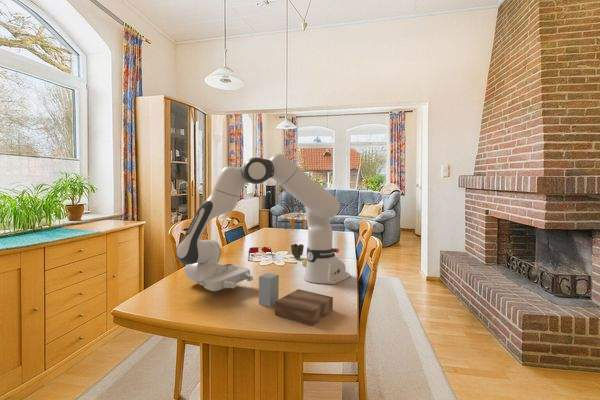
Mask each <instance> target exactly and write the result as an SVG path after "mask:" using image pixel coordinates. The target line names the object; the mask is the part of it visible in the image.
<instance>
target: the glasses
mask: <svg viewBox="0 0 600 400" xmlns="http://www.w3.org/2000/svg"><path fill="white" fill-rule="evenodd" d="M259 250H261V253H264V254H265V253H266V252H271V253H270V254H271V257H272V258H273V259H274V253H273V252H272V248H271V247H269V246H263V247H261V249H260V246H258V247H257V246H256V247H255V246H253V247H249V249H248V260H249V261H250V256H251V255H250V253H254V254H257V253H259V252H260V251H259ZM248 260H247V261H248Z"/></svg>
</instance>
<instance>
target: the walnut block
mask: <svg viewBox="0 0 600 400" xmlns="http://www.w3.org/2000/svg"><path fill="white" fill-rule="evenodd" d="M333 301H334V297H333V296H329V295H325V294H321V293H316V292H311V291H307V290H303V289H300V288H299V289H296V290H294V291H292V292H290V293H288V294H287V295H284V296H283V297H281V298H278V300H277V301H275V305H274V315H275V316H276V317H280V318H282V319H283V318H284V319H285V320H286V319H287V320H290V321H293V322H297V323H300V324H304V325H308V326H310V327H314V325H316V324H317V323H318V322H320V321H321V320H322V319H324V317H326V316H327V315H329V314H330V313H332V311H333V310H334V309H333V305H334V302H333Z"/></svg>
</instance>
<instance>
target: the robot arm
mask: <svg viewBox="0 0 600 400" xmlns="http://www.w3.org/2000/svg"><path fill="white" fill-rule="evenodd" d="M269 179H273V180H274V181H275V182H277V183H278V184H279V185H280V187H282V188H283V189H284V190H285V191H287V193H289V194H290V195H291V196H292V197H293V198H295V199H296V200H297V201H298V202H300V203H301V204H302V205H304V208H305V216H306V217H305V218H306V224H307V247H306V257H307V258H306V259H307V265H306V267H305V273H304V274H303V279H304V281H306V282H310V283H314V284H329V285H335V284H338V283H340V282H342V281H344V280H347V279H349V278H351V274H350V272H347V270H346V264H345V262H343V261H342V260H341V259H340V258H339V257H337V256H336V254H338V253H339V252H340V249H339V248H338V247H337V248H336V247H334V248H333V238H334V237H333V233H334V231H333V228H332V224H331V220H330V219H331V218H334V217H335V216H337V214H338V213H339V212H340V209H341V207H340V206H341V205H340V202H339V200H338V199H337V197H336V196H334V195H333V194H332V193H330V192H329V191H328V190H327V189H325V188H324V187H322V185H320V184H319V183H318V182H316V181H315V180H313V178H311V177H310V176H309V175H308V174H307V173H306V172H304V170H302V169H301V168H300V166H298V165H297V164H296V163H295V162H293V160H291V159H290V158H288V157H287V156H285V155H283V154H281V153H276V154H274V155H272V156H271V157H269V159H266V158H263V157H250V158H248V159H246V160H245V161H244V162H243V163H242V164H241V165H240V166H239V167H236V166H231V165H230V166H229V165H228V166H225V167H223V168H222V170H221V171H220V173H219V175H218V176H217V179H216V182H215V184H214V186H213V190H212V191H211V193H210V195H209V197H208V198H207V199H206V200H205V201H203V202H202V203H201V204H200V205H199V207H198V208H197V210H196V212H195V215H194V216H193V218H192V220H191V222H190V224H189V226H188V228H187V230H186V232H185V234H184V236H183V237H182V239H181V240H180V241H179V243H178V245H177V246H176V249H175V255H176V257H177V259H178V261H179V262H180V263H181V264H183V265H184V275H185V277H186V278H187V279H188V280H190V281H192V282H194V283H196V284H199V286H203V288H204V289H205V290H208V291H210V292H218V291H220V290H223V289H234V288H237V284H239V283H241V282H243V281H245V280H246V281H247V282H251V281H253V280H254V276H253V275H251V270H250V268H247V267H244V266H239V265H236V264H234V263H227V264H219V262H220V261H219V260H220V257H221V246H220V245H219V243H218V242H217V241H216V240H213V239H201V237H202V236H203V234H204V232H205V231H206V228H207V225H208V224H209V222H210V221H211V220H213V219H215V218H217V217H219V216H222V215H227V214H229V213H230V212H232V211H234V209H235V208H236V206H237V205H238V203H239V202H238V201H239V199H240V196H241V193H242V190H243V188H244V186H245V185H247V184H253V185H260V184H263V183H264V182H266V181H267V180H269ZM335 253H336V254H335Z"/></svg>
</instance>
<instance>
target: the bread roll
mask: <svg viewBox="0 0 600 400" xmlns="http://www.w3.org/2000/svg"><path fill="white" fill-rule="evenodd" d="M301 265H302V267H305V266H306V265H307V258H304V259H303V260H302V261H301Z"/></svg>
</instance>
